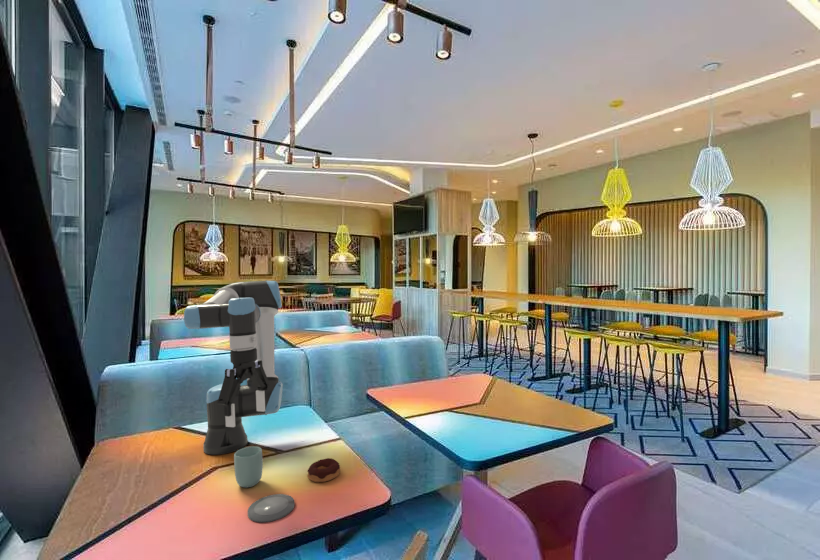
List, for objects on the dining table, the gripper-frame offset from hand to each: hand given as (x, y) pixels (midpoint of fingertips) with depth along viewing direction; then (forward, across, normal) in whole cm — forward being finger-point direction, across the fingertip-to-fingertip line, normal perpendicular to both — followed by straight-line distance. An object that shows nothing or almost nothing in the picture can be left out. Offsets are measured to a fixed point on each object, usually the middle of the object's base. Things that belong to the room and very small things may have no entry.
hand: (246, 418), depth 123 cm
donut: (+21, +10, -20) cm, 30 cm away
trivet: (+20, -10, -15) cm, 27 cm away
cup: (+20, 0, 0) cm, 20 cm away
